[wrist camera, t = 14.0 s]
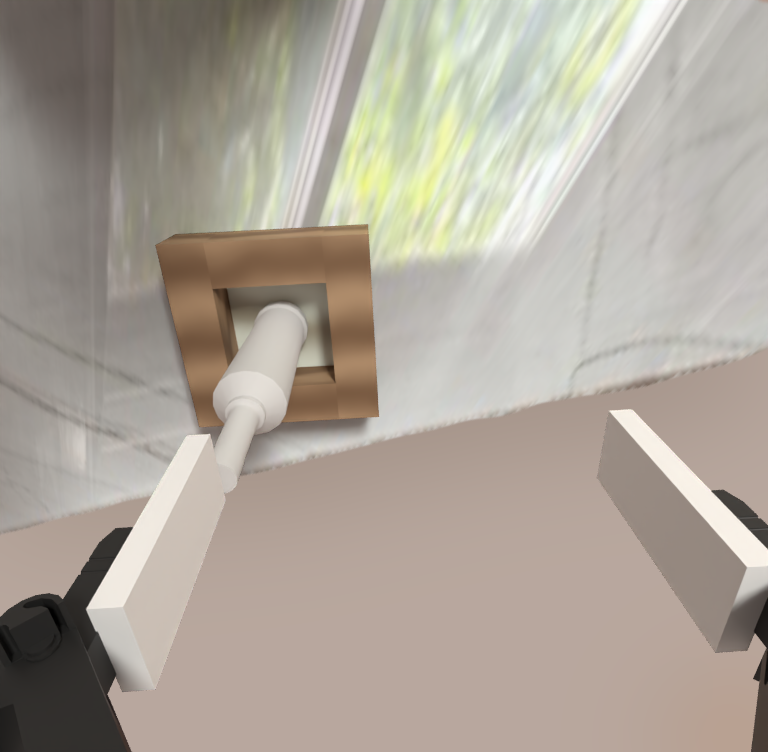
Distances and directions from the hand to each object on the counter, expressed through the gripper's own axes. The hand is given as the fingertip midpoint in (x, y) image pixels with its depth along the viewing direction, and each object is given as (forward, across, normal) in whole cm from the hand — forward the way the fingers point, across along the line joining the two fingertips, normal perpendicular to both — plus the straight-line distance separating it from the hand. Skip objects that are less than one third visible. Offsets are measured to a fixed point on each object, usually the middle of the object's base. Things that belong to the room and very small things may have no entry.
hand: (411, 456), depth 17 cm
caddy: (+35, -10, -7) cm, 37 cm away
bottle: (+34, -10, -7) cm, 36 cm away
